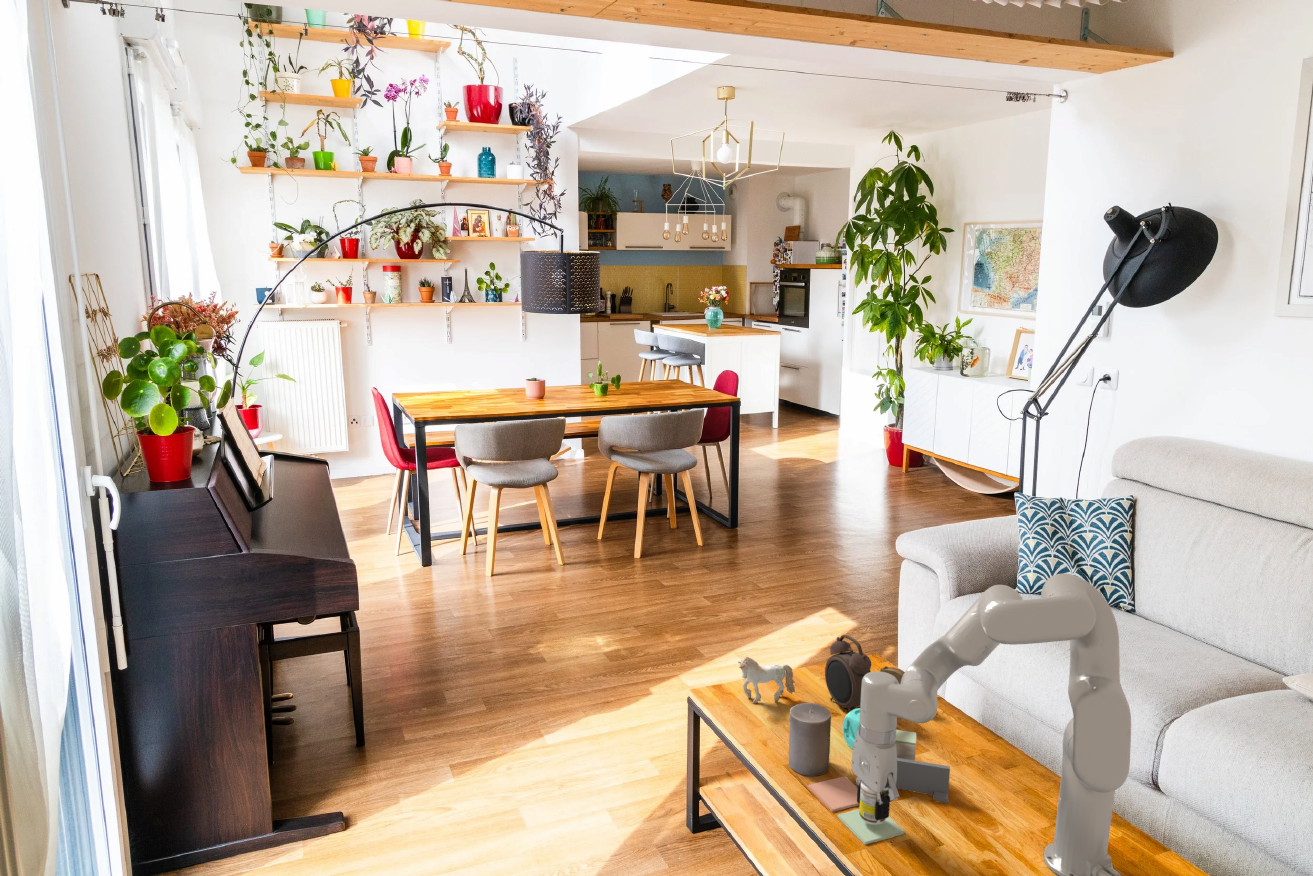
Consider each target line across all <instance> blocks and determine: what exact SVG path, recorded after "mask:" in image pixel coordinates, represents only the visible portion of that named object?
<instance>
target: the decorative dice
mask: <svg viewBox="0 0 1313 876" xmlns="http://www.w3.org/2000/svg"><path fill="white" fill-rule="evenodd" d="M859 722H860V707H859V708H858V707H856V708H854V709H851V711H850V712H849V711H848V713H847V714H846V715H845V716H844V718H843V722H842V733H843V734H842V735H843V738H844V740H845V743H846V744H847V746H848V747H849V748H850V749H851V748H852V749H851V750H853V747H854V741H855V737H856V734H857V731H858V730H859Z"/></svg>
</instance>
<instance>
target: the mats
mask: <svg viewBox="0 0 1313 876" xmlns="http://www.w3.org/2000/svg"><path fill="white" fill-rule="evenodd" d="M807 788H808V789H809V791H811V792H812V793H813V794H814V795H815V796H816V797H817V798H818V799H819V801H821V802H822V803H823V804H824V805H825V806H826V807H827V808H828V809H829V810H830V812H832V813H834V812H837V811H841V810H846V809H849V808H853V807H858V806H860V804H859V803H858V802H857V791H858V788H857V787H856V784H854V783H853V782H852V781H851V780H850V779H848V777H846V776H845V775H844V776H841V777H835V778H832V779H828V780H823V781H819V782H814V783H810V784H808V785H807ZM859 811H860V808H859V809H854V810H851V811H847V812H842V813H838V814H837V815H836V816H837V819H839V821H841V822H842V823H843V824H844V825H845V826H846V827H847V828H848V829H849V830H850V832H852V833H853V835H855V837H856V838H858V839H859V840H860V841H861V843H863V844H864V845H868V844H872V843H875V842H879V841H880V842H881V841H883V840H887V839H891V838H894V836H895V837H898V836H901V835H905V834H906V830H904V828H902V827H901V826H900V825H898V824H897V822H895V820H893V819H892V818H891V817H890V816H889V817H888V818H886V820H885V821H884V822H883V823H881V824H878V825H873V824H868V823H866V822H864V821H863V820H862V819H861V817H860V814H859ZM890 837H891V838H890Z"/></svg>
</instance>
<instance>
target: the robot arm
mask: <svg viewBox="0 0 1313 876" xmlns="http://www.w3.org/2000/svg"><path fill="white" fill-rule="evenodd" d="M1040 595H1041V596H1040V598H1039V597H1038V598H1032V599H1023V597H1022V595H1021V594H1020V593H1019V592H1018V591H1017V590H1016V589H1015V588H1013V587H1012V586H1011V587H1010V586H1009V585H1006V584H995V585H992V586H990V587H989V588H987V589H986V590H984V591H983V592H982V593H981V595H980V596H979V597H978V598H977V599H976V600H975V601H974V602H973V603H972V604H971V605H970V607H969V608H967V610H966V611H965V612H964V613H963V614H962V616H961V617H960V618H959V619H958V620H956V622H955V623H954V624H953V625H952V627H951V628H950V629H948V631H947V632H946V633H945V634H944V635H942V636H940V637H939V638H938V639H936V640H935V641H933V642H932V643H931V644H930V645H928V646H927V647H926V648H924V650H923V651H922V652H921V653H920V654H919V655H918V656H917V657H916V658H915V659H914V660H913V662H912V663H911V664H910V665H909V666H908V668H906V670H905V671H904V672H905V673H904V674H903V676H902V679H901V683H900V684H899V683H898V680H897V679H896V678H895V677H894V676H893V675H891V674H889V673H886V672H880V671H874V670H873V671H871V672H869V673H867V674H866V675H865V676H864V677H863V679H862V686H861V703H860V706H859V708H860V722H859V730H858V731H857V734H856V737H855V741H854V747H853V749H852V754H851V755H852V756H851V771H852V773H853V774H854V775H855V776H856V779H855V781H856V784H858V785H859V786H858V791H857V802H858V803H859V804H860V789H861V781H863V782H864V783H865V784H866V785H867V786H869V787H870V788H871V789H872V790H873V791H875V792H877V799H878V802H876V803H875V819H876V820H877V821H878V820H881V819H885V818H888V817H890V805H891V803H892V802H893V801H894V800H897V799H899V798H900V794H899V791H898V789H897V788H896V781H897V752H896V744H895V741H896V730H897V727H898V718H900V719H902V720H905V721H907V722H911V723H916V724H925V723H929V722H930V721H932V720H933V719H934V718H935V716H936V714H937V711H938V690H939V689H940V688H941V687H942V686H943V685H944V684H945V682H947V680H948V679H949V678H950V677H951V676H952V675H953V674H955V672H956V671H958V670H959V669H961V668H963V667H966V666H972V667H978V666H980V665H982V664H983V662H984V661H985V660H986V659H987V658H988V657H989V655H991V653H992V652H994V650H995V649H996V648H997V647H998V646H999V645H1000V644H1003V645H1016V646H1017V645H1029V644H1031V645H1032V644H1043V643H1044V644H1045V643H1054V642H1065V641H1067V642H1068V641H1069V653H1070V654H1069V655H1070V656H1069V674H1068V675H1069V676H1068V687H1067V688H1068V689H1067V693H1068V699H1069V702H1070V703H1069V704H1070V706H1071V710H1072V716H1073V717H1072V718H1071V719H1070V720H1069V721H1068V723H1067V724H1066V726H1065V729H1064V731H1063V737H1062V739H1063V740H1062V764H1061V773H1060V774H1061V776H1060V785H1059V792H1058V800H1057V801H1058V802H1057V809H1056V820H1055V828H1054V837H1053V842H1051V843H1049V844H1048V845H1047V846H1045V848H1044V851H1043V853H1044V854H1043V858H1044V862H1045V864H1046V866H1047V867H1048V868H1049V869H1050V870H1051V871H1052V872H1053V873H1054V874H1055V875H1057V876H1122V874H1121V873H1120V872H1118V870H1116V869H1114V867H1113V864H1112V856H1111V855H1109V854H1108V847H1109V840H1110V832H1111V824H1112V816H1113V807H1114V800H1115V794H1116V790H1118V789H1119V788H1121V787H1122V786H1123V785H1124V783H1125V782H1126V781H1127V780H1128V779H1127V778H1128V776H1129V772H1130V766H1131V748H1132V747H1131V744H1132V743H1131V741H1132V714H1131V708H1130V705H1129V702H1128V700H1127V697H1126V694H1125V692H1124V689H1123V687H1122V684H1121V678H1120V676H1121V675H1120V674H1121V673H1120V669H1121V668H1120V665H1121V663H1120V634H1119V629H1118V624H1117V621H1116V618H1115V615H1114V612H1113V610H1112V608H1111V606H1110V605H1109V603H1108V601H1107V600H1106V598H1105V597H1104V596H1103V594H1102V593H1101V592H1100V591H1099V590H1098V588H1096V587H1095V586H1094V585H1092V584H1091V583H1090V582H1089V581H1087V580H1085V579H1083V578H1081V577H1079V576H1076V575H1074V574H1072V573H1071V574H1070V573H1057V574H1054V575H1051V576H1050V577H1049V578H1048V579H1047V580H1046V581H1045V582H1044V584H1043V586H1042V588H1041V594H1040ZM882 791H885V792H886V795H885V796H884V797H882Z"/></svg>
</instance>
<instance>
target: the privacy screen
mask: <svg viewBox="0 0 1313 876" xmlns="http://www.w3.org/2000/svg"><path fill="white" fill-rule="evenodd" d="M950 773H951V767H950V765H944V764H937V763H932V762H925V761H919V760H915V761H914V760H907V759H901V758H897V781H896V788H897V790H900V789H902V791H906V790H909V791H908V792H912V791H915V792H914V793H918V792H919V793H920V794H924V793H926V794H925V795H930V794H932V795H931V796H933V802H936V801H939V802H938V803H942V802H943V803H944V804H949V787H950ZM855 786H856V787H857V788H858V786H859V785H858V784H857V783H856V784H855Z"/></svg>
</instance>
